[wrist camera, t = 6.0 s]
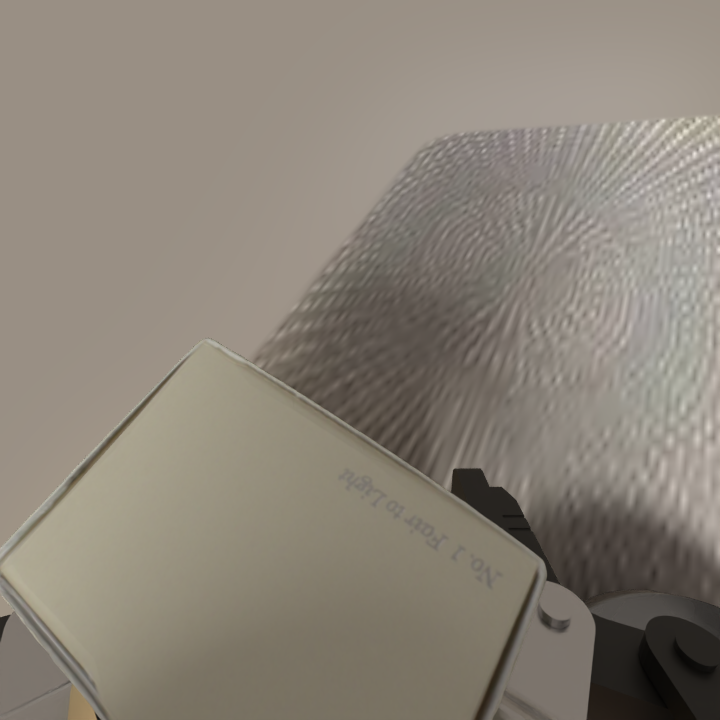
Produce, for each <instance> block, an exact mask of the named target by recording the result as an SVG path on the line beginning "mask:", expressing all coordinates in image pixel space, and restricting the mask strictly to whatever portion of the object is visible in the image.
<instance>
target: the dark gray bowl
mask: <svg viewBox="0 0 720 720" xmlns="http://www.w3.org/2000/svg"><path fill="white" fill-rule="evenodd" d="M583 602H584V604H585V605H586V606H587V608H588V609H589V611H590V612H591V613H593V614H595V615H598V616H600V617H602V618H605V619H608V620H611V621H615V622H618V623H621V624H625V625H628V626H631V627H635V628H638V629H641V630H645V628H646V625H647V623H648V622H649V621H650V620H651V619H652V618H654V617H657V616H664V615H665V616H674V617H679V618H682V619H685V620H688V621H690V622H692V623H694V624H696V625H698V626H700V627H702V628H704V629H705V630H707V631H708V632H710V633H712V634H713V635H714V636H716V637H717V638H718V639H719V640H720V608H719V607H716V606H714V605H711V604H708V603H705V602H701V601H698V600H695V599H691V598H687V597H682V596H677V595H672V594H667V593H661V592H655V591H650V590H622V591H614V592H608V593H605V594H602V595H598V596H595V597H592V598H590V599H588V600H586V601H583Z"/></svg>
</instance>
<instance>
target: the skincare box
mask: <svg viewBox="0 0 720 720" xmlns="http://www.w3.org/2000/svg"><path fill="white" fill-rule="evenodd" d="M546 578H547V571H546V566H545V563H544V561H543V560H542V559H541V558H540V557H539V556H537V555H536V554H535V553H534V552H532V551H531V550H530V549H529V548H527V547H526V546H525V545H523V544H522V543H521V542H519V541H518V540H517V539H515V538H514V537H513V536H511V535H510V534H508V533H507V532H506V531H504V530H503V529H502V528H500V527H499V526H498V525H496V524H495V523H493V522H492V521H490V520H489V519H487V518H486V517H484V516H483V515H482V514H480V513H479V512H478V511H476V510H475V509H474V508H472V507H471V506H470V505H468V504H467V503H466V502H464V501H463V500H461V499H460V498H458V497H457V496H455V495H454V494H452V493H451V492H449V491H448V490H446V489H445V488H443V487H442V486H441V485H439V484H438V483H436V482H435V481H433V480H432V479H431V478H429V477H428V476H426V475H425V474H423V473H422V472H420V471H419V470H417V469H416V468H414V467H413V466H411V465H410V464H408V463H407V462H405V461H404V460H402V459H401V458H399V457H398V456H396V455H395V454H393V453H392V452H390V451H389V450H387V449H386V448H384V447H383V446H381V445H380V444H378V443H377V442H375V441H374V440H372V439H371V438H369V437H368V436H366V435H365V434H363V433H362V432H360V431H358V430H357V429H355V428H354V427H352V426H351V425H349V424H348V423H346V422H345V421H343V420H341V419H340V418H338V417H337V416H335V415H334V414H332V413H331V412H329V411H328V410H326V409H324V408H323V407H321V406H320V405H318V404H317V403H315V402H314V401H312V400H310V399H309V398H307V397H306V396H304V395H302V394H301V393H299V392H298V391H296V390H295V389H293V388H292V387H290V386H289V385H287V384H285V383H284V382H282V381H281V380H279V379H277V378H276V377H274V376H272V375H271V374H269V373H267V372H266V371H264V370H263V369H261V368H259V367H258V366H256V365H254V364H253V363H251V362H250V361H248V360H247V359H245V358H244V357H242V356H241V355H239V354H237V353H235V352H233V351H231V350H230V349H228V348H227V347H225V346H223V345H222V344H220V343H219V342H217V341H215V340H213V339H210V338H205V339H202V340H201V341H200V342H198V343H197V344H196V345H195V346H194V347H193V348H192V349H191V350H190V351H189V352H188V353H187V354H186V355H185V356H184V357H183V358H182V359H181V360H180V361H179V362H178V363H177V364H176V365H175V366H174V367H173V368H172V369H171V370H170V371H169V373H168V374H167V375H166V376H165V377H164V378H163V379H162V380H161V381H160V382H159V383H158V384H157V385H156V386H155V387H154V388H153V389H152V390H151V391H150V392H149V393H148V394H147V395H146V396H145V397H144V398H143V399H142V400H141V401H140V402H139V403H138V404H137V405H136V406H135V407H134V408H133V409H132V410H131V411H130V412H129V413H128V414H127V415H126V416H125V417H124V419H123V420H122V421H121V422H120V423H119V424H118V425H117V426H116V427H115V428H113V429H112V431H111V432H110V433H109V434H108V435H107V436H106V437H105V438H104V439H103V440H102V442H101V443H100V444H99V445H98V446H97V447H96V448H95V449H93V450H92V452H91V453H90V454H89V455H88V456H87V457H86V458H85V459H84V460H83V461H82V462H81V463H80V464H79V465H78V466H77V467H76V468H75V469H74V470H73V471H72V472H71V473H70V474H69V475H68V477H67V478H66V479H65V480H64V481H63V482H62V483H61V484H60V485H59V486H58V487H57V488H56V489H55V490H54V492H53V493H52V494H51V495H50V496H49V497H48V498H47V499H46V500H45V501H44V503H43V504H42V505H41V506H40V507H39V508H38V509H37V510H36V511H35V512H34V513H33V514H31V516H30V517H29V518H28V519H27V520H26V521H25V522H24V523H23V524H22V525H21V526H20V527H19V528H18V529H17V530H16V532H15V533H14V534H13V535H12V536H11V537H10V538H9V539H8V540H7V541H6V542H5V543H4V544H3V545H2V546H1V548H0V595H1V596H2V597H3V598H4V599H5V601H6V602H7V603H8V604H9V605H10V606H11V608H12V609H13V610H14V611H15V613H16V614H17V615H18V616H19V618H20V619H21V621H22V622H23V623H24V624H25V625H26V627H27V628H28V629H29V631H30V632H31V633H32V635H33V636H34V637H35V639H36V640H37V641H38V642H39V643H40V644H41V645H42V647H43V648H44V649H45V650H46V651H47V652H48V653H49V655H50V656H51V658H52V659H53V661H54V662H55V663H56V664H57V666H58V667H59V668H60V669H61V670H62V671H63V673H64V674H65V675H66V676H67V677H68V679H69V680H70V681H71V683H72V684H73V685H74V686H75V687H76V688H77V690H78V691H79V692H80V693H81V694H82V696H83V697H84V698H85V699H86V701H87V702H88V703H89V704H90V705H91V707H92V708H93V710H94V711H95V713H96V714H97V715H98V717H99V718H100V719H101V720H493V717H494V715H495V713H496V712H497V710H498V708H499V706H500V703H501V699H502V696H503V693H504V690H505V688H506V686H507V683H508V681H509V678H510V676H511V674H512V671H513V669H514V666H515V664H516V661H517V658H518V655H519V653H520V650H521V647H522V644H523V641H524V639H525V636H526V633H527V631H528V628H529V625H530V623H531V620H532V617H533V615H534V612H535V609H536V606H537V604H538V601H539V599H540V597H541V594H542V592H543V589H544V587H545V583H546Z"/></svg>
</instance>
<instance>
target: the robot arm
mask: <svg viewBox="0 0 720 720" xmlns="http://www.w3.org/2000/svg"><path fill="white" fill-rule="evenodd" d="M451 493H452V494H454V495H455V496H457V497H458V498H460V499H461V500H463V501H464V502H466V503H467V504H468V505H470V506H471V507H472V508H474V509H475V510H476V511H478V512H479V513H480V514H482V515H483V516H484V517H486V518H487V519H489V520H490V521H492V522H493V523H495V524H496V525H498V526H499V527H500V528H502V529H503V530H504V531H506V532H507V533H508V534H510V535H511V536H513V537H514V538H515V539H517V540H518V541H519V542H521V543H522V544H523V545H525V546H526V547H527V548H529V549H530V550H531V551H532V552H534V553H535V554H536V555H537V556H539V557H540V558H541V559H542V560H543V561H544V563H545V566H546V571H547V578H546V583H545V587H544V589H543V592H542V594H541V597H540V599H539V601H538V604H537V606H536V609H535V612H534V615H533V617H532V620H531V623H530V625H529V628H528V631H527V633H526V636H525V639H524V641H523V644H522V647H521V650H520V653H519V655H518V658H517V661H516V664H515V666H514V669H513V671H512V674H511V676H510V678H509V681H508V683H507V686H506V688H505V690H504V693H503V696H502V699H501V703H500V706H499V708H498V710H497V712H496V713H495V715H494V717H493V720H720V640H719V639H718V638H717V637H716V636H714V635H713V634H712V633H710V632H708V631H707V630H705V629H704V628H702V627H700V626H698V625H696V624H694V623H692V622H690V621H688V620H685V619H682V618H679V617H674V616H665V615H664V616H657V617H654V618H652V619H651V620H650V621H649V622H648V623H647V625H646V628H645V630H641V629H638V628H635V627H631V626H628V625H625V624H621V623H618V622H615V621H611V620H608V619H605V618H602V617H600V616H598V615H595V614H593V613H591V612H590V611H589V609H588V608H587V606H586V605H585V604H584V602H583V601H582V600H581V599H580V598H579V597H578V596H576V595H575V594H574V593H573V592H571V591H570V590H568V589H567V588H565V587H563V586H561V585H560V583H559V582H558V580H557V578H556V576H555V574H554V572H553V570H552V568H551V566H550V564H549V562H548V560H547V559H546V557H545V555H544V553H543V551H542V549H541V547H540V545H539V543H538V541H537V539H536V537H535V536H534V534H533V532H532V531H531V528H530V526H529V524H528V522H527V520H526V518H524V514H523V512H522V511H521V509H520V507H519V505H518V503H517V501H516V500H515V499H514V498H513V497H512V496H511V495H510V494H509V493H508V492H507V491H506V490H504V489H503V488H502V487H489V485H488V482H487V480H486V478H485V476H484V473H483V471H482V470H481V469H454V470H453V475H452V489H451ZM0 720H101V719H100V718H99V717H98V715H97V714H96V713H95V711H94V710H93V708H92V707H91V705H90V704H89V703H88V702H87V701H86V699H85V698H84V697H83V696H82V694H81V693H80V692H79V691H78V690H77V688H76V687H75V686H74V685H73V684H72V683H71V681H70V680H69V679H68V677H67V676H66V675H65V674H64V673H63V671H62V670H61V669H60V668H59V667H58V666H57V664H56V663H55V662H54V661H53V659H52V658H51V656H50V655H49V653H48V652H47V651H46V650H45V649H44V648H43V647H42V645H41V644H40V643H39V642H38V641H37V640H36V639H35V637H34V636H33V635H32V633H31V632H30V631H29V629H28V628H27V627H26V625H25V624H24V623H23V622H22V621H21V619H20V618H19V616H18V615H17V614H16V613H15V611H14V612H13V613H12V614H11V615H7V616H4V617H0Z"/></svg>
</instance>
